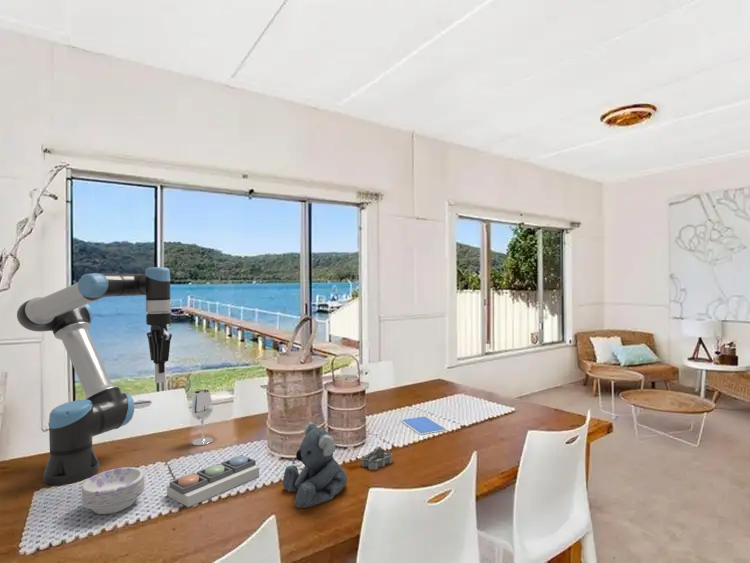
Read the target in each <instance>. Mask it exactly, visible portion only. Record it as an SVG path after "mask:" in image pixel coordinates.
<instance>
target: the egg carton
mask: <svg viewBox="0 0 750 563" xmlns="http://www.w3.org/2000/svg"><path fill="white" fill-rule="evenodd" d="M392 456H394V454H393V453H390V451H387V452H386V450H385V449H384V448H382V447H381V445H380V446H376V447H375V448H374V449H373V451H369V453H367V454H365V455H364V456H361V457H359V459H360V460H361V467H363V468H364V467H368V470H369V471H370V470H378V469H379V468H378V467H385V466H386V464H392V462H393V461H392V459H393V458H392Z"/></svg>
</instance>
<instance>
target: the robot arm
mask: <svg viewBox="0 0 750 563" xmlns="http://www.w3.org/2000/svg"><path fill="white" fill-rule="evenodd" d="M144 270H145V271H144V272H145V273H99V272H93V273H84V274H83V275H82V276H80V278H79V279H78V282H76V283H74V284H73V285H69V286H67V287H64V288H62V289H59V290H57V291H56V292H52V293H51V294H48V295H46V296H43V297H42V296H41V297H40V296H39V297H33V298H31V299H29V300H27V301H26V300H25V302H23V303H22V304H21V305H20V306H19V308H18V309H17V311H16V318H17V321H18V323H19V324H20V325H21V326H22V328H24V329H26V330H28V331H32V332H49V331H52V333H53V335H54V338H55V339H56V340H57V339H58V340H59V341H60V340H61V341H62V343H63V346H64V348H65V350H66V352H67V355H68V358H69V360H70V362H71V364H72V366H73V369H74V371H75V374H76V376H77V378H78V380H79V382H80V385H81V387H82V389H83V391H84V394H85V398H84V399H76V400H74V401H73V400H71V401H67V402H66V403H65V402H64V403H62V404H59V405H57V406H56V407H54V408H53V409H52V410H51V411H50V413H49V419H48V423H47V424H48V429H49V433H48V434H49V436H48V437H49V456H48V459H47V463H46V465H45V468H44V471H43V475H42V476H43V477H42V478H43V483H44V484H45V485H50V486H58V485H59V486H60V485H67V484H72V483H76V482H80V481H82V480H86V479H89V478H91V477H92V476H94V475H96V473H97V474H98V472H99V470H100V462H99V459H98V456H97V455H96V453H95V450H94V448H93V438H94V437H95V436H98V435H101V434H104V433H107V432H110V431H114V430H117V429H120V428H121V427H123V426H126V425H127V424H129V422H130V421H131V420H132V419H133V417H134V413H135V408H136V406H135V401H134V399H133V397H132V395H130V394H129V393H127V392H122V391H121V390H120V387H119V386H118V385H114V384H112V381H111V379H110V377H109V374H108V372H107V370H106V368H105V366H104V364H103V361H102V359H101V356H100V355H99V354H100V353H99V352H98V350H97V348H96V345H95V344H94V341H93V338H92V337H91V335H90V333H89V329H90V328H91V323H92V321H93V316H92V315H93V309H92V308H91V306H90V303H93V302H95V301H98V300H100V299H103V298H108V297H134V296H145V313H146V317H145V322H146V325H147V326H150V332H146V337H147V341H148V348H149V356H150V361H152V362H153V363H154V383H155V384H160V383H166V367H165V363H167V362H169V359H170V358H169V357H170V347H171V340H172V336H173V335H172V333H168V325H169V324H171V323H172V313H170V312H171V310H172V309H171V308H172V306H171V305H172V302H171V273H170V272H171V271H170V269H169V268H168V267H162V266H159V267H157V266H155V267H154V266H151V267H146V268H145V269H144Z"/></svg>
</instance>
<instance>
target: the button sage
mask: <svg viewBox="0 0 750 563" xmlns="http://www.w3.org/2000/svg"><path fill="white" fill-rule="evenodd" d="M204 469H205V475H208V476H210V477H213V476H215V475H218V474H220V473H223V472H224V466H223V465H217V464H213V465H210V466H207V467H205V468H204Z"/></svg>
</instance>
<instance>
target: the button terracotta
mask: <svg viewBox="0 0 750 563" xmlns="http://www.w3.org/2000/svg"><path fill="white" fill-rule="evenodd" d="M195 474H196V473H195ZM195 474H193V473H191V474H185V475H183V476H180V477H179V478H177V479H178V485H179V486H181V487H183V488H185V487H188V486H190V485H193V484H195V483H198V482H199V476H198V475H195Z"/></svg>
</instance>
